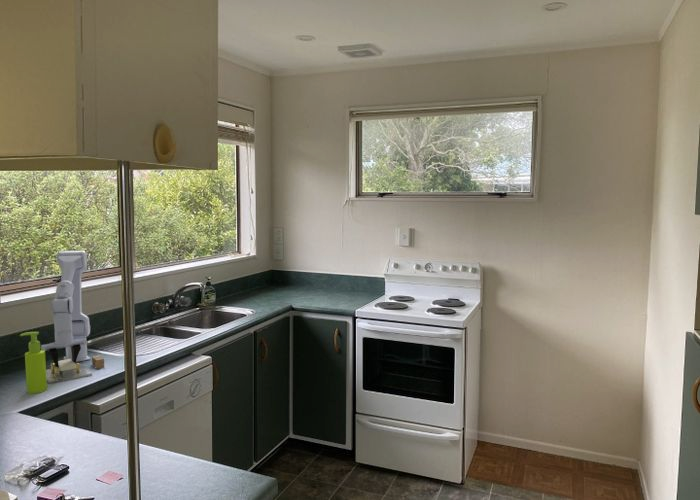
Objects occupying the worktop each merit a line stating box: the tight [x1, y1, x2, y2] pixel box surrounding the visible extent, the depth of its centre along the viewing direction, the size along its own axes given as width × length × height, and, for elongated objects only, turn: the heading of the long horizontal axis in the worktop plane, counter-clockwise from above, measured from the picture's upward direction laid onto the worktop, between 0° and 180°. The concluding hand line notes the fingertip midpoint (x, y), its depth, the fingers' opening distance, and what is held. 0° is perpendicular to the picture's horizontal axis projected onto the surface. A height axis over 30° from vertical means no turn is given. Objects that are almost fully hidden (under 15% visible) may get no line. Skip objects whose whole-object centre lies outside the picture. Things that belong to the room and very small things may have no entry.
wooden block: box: [91, 355, 105, 369], centre depth 210 cm, size 6×3×3 cm, turn 39°
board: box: [58, 359, 76, 371], centre depth 200 cm, size 9×5×2 cm, turn 39°
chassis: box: [46, 362, 93, 385], centre depth 200 cm, size 16×14×4 cm
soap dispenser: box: [19, 331, 48, 395], centre depth 182 cm, size 6×7×20 cm
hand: (65, 366), depth 200 cm, fingers closed on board, 5 cm apart
